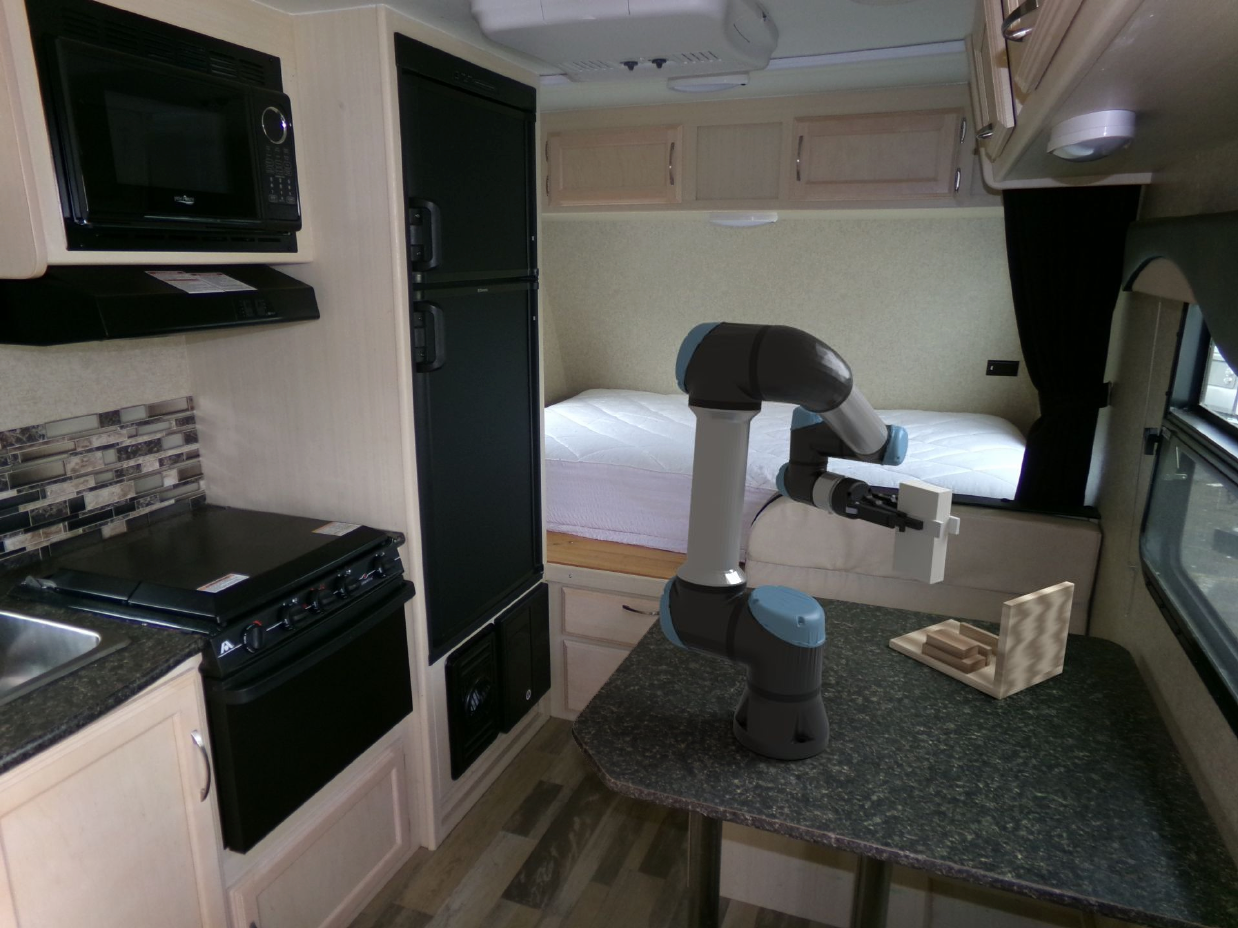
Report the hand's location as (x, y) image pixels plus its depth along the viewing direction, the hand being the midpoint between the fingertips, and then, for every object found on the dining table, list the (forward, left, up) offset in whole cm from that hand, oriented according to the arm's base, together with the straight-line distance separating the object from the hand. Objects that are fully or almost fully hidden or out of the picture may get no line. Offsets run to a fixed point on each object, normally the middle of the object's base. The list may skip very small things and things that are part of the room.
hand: (949, 528), depth 136 cm
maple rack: (+19, -4, -31) cm, 37 cm away
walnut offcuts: (+14, -1, -29) cm, 32 cm away
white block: (+3, +5, -10) cm, 11 cm away
